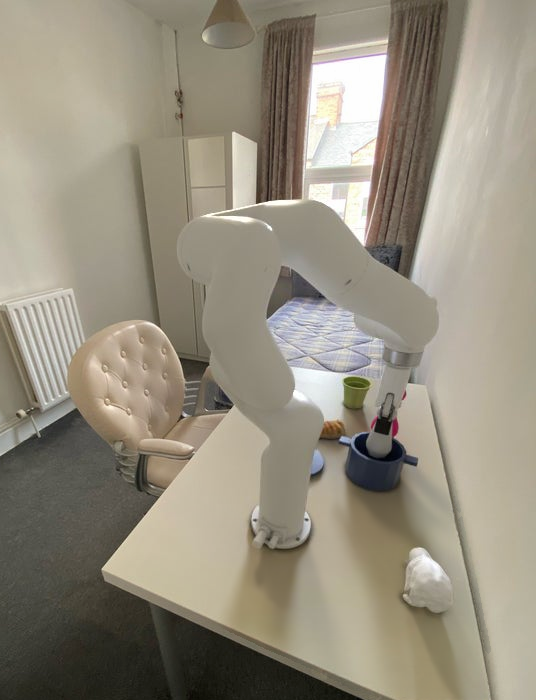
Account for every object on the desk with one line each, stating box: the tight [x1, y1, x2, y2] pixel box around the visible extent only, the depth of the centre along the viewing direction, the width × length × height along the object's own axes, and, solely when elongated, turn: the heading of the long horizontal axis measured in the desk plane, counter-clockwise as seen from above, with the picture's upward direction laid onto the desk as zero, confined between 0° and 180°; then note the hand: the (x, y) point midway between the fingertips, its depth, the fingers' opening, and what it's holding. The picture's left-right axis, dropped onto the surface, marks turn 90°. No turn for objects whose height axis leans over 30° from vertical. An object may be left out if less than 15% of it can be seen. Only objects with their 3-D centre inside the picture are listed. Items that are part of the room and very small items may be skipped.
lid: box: [310, 448, 325, 477], centre depth 88 cm, size 14×14×6 cm
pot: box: [338, 431, 419, 492], centre depth 83 cm, size 13×18×8 cm
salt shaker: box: [366, 406, 398, 458], centre depth 79 cm, size 6×6×13 cm
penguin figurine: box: [402, 546, 455, 614], centre depth 57 cm, size 6×8×12 cm
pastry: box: [319, 419, 347, 440], centre depth 99 cm, size 9×7×4 cm
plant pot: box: [341, 375, 373, 409], centre depth 113 cm, size 9×9×9 cm
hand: (383, 427), depth 78 cm, fingers closed on salt shaker, 4 cm apart
